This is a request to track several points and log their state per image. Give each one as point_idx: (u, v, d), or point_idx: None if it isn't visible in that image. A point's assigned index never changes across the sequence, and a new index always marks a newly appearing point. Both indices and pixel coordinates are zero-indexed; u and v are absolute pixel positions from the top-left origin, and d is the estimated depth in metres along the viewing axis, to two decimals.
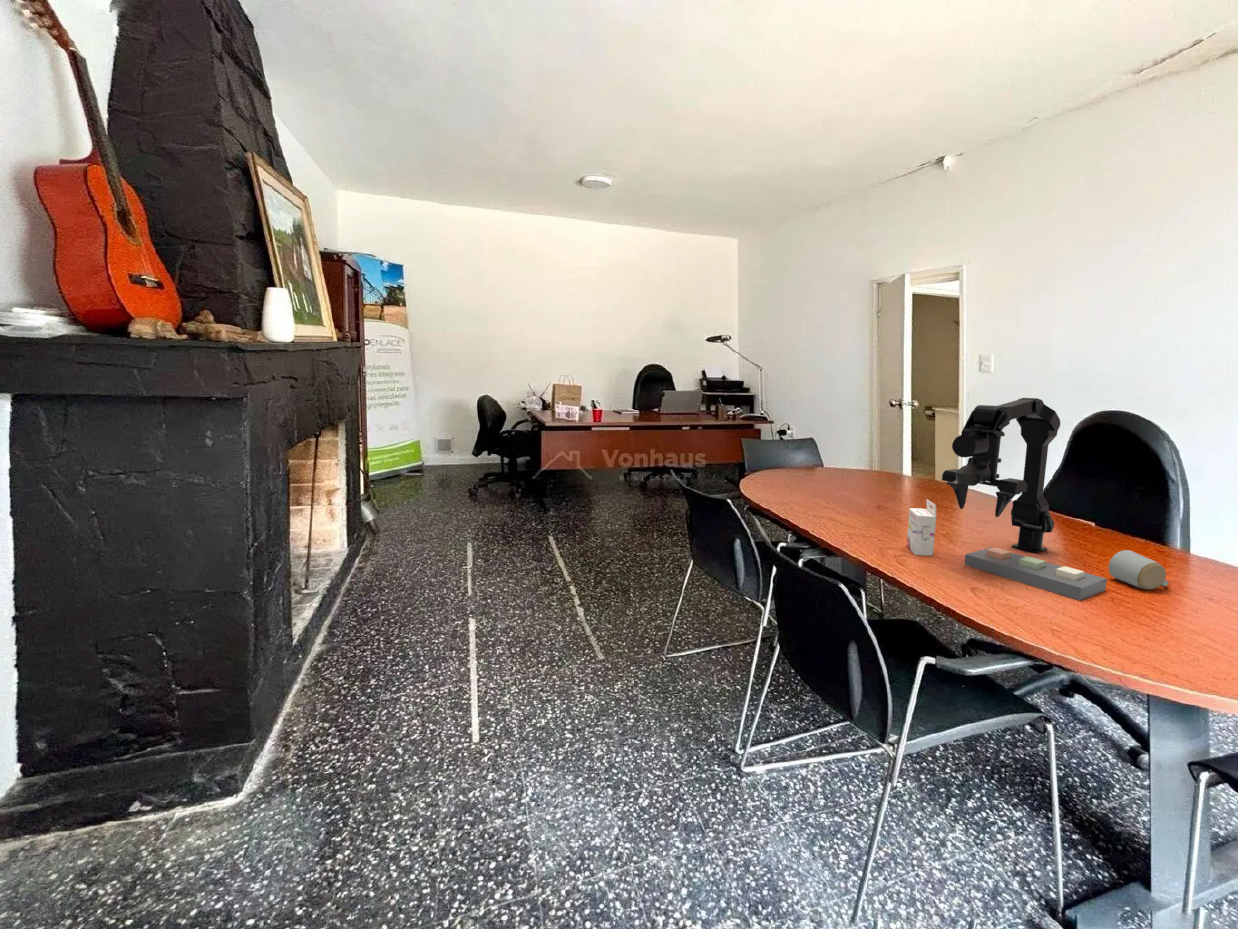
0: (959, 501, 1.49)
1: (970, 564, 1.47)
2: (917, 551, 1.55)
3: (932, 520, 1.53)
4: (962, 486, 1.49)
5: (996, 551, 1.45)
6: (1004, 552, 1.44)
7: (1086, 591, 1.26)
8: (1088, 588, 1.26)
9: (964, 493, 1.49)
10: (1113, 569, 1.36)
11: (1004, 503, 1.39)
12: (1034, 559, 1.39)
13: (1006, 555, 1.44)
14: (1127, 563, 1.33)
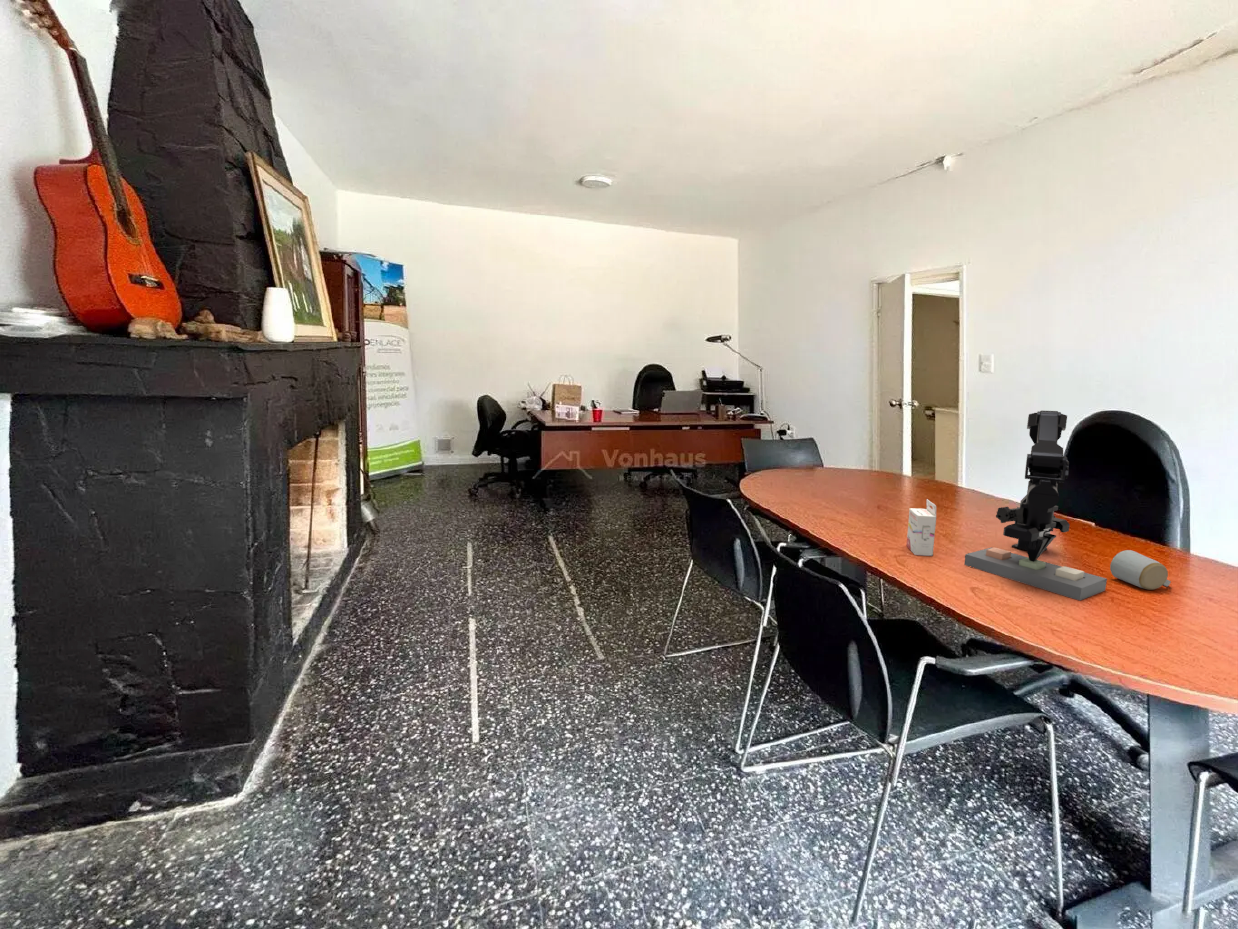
0: None
1: (970, 564, 1.47)
2: (917, 551, 1.55)
3: (932, 520, 1.53)
4: None
5: (996, 551, 1.45)
6: (1004, 552, 1.44)
7: (1086, 591, 1.26)
8: (1088, 588, 1.26)
9: None
10: (1115, 569, 1.36)
11: (1032, 547, 1.37)
12: None
13: (1006, 555, 1.44)
14: (1128, 563, 1.33)
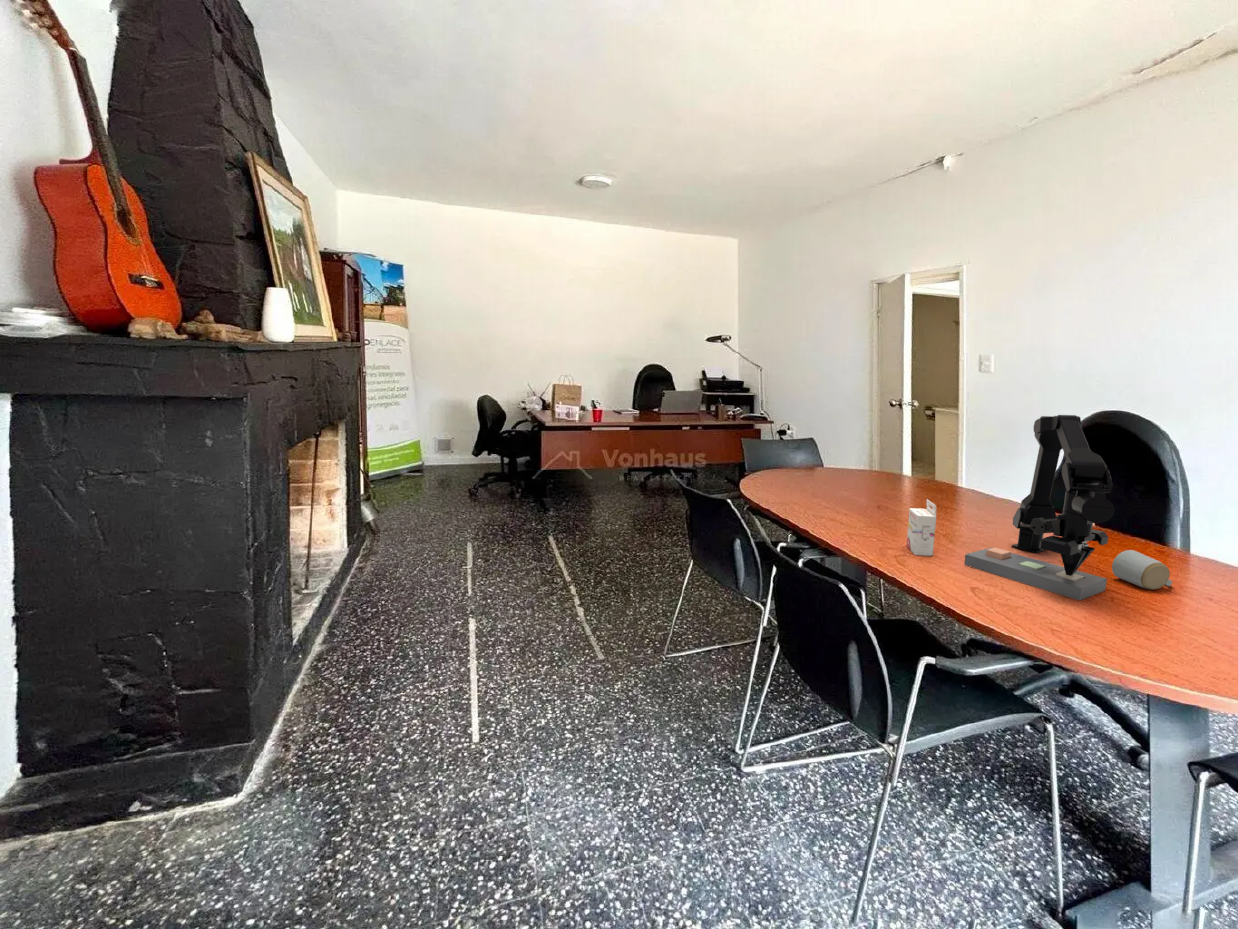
0: None
1: (970, 564, 1.47)
2: (917, 551, 1.55)
3: (932, 520, 1.53)
4: None
5: (996, 551, 1.45)
6: (1004, 552, 1.44)
7: (1086, 591, 1.26)
8: (1088, 588, 1.26)
9: None
10: (1117, 569, 1.36)
11: (1070, 561, 1.30)
12: (1033, 564, 1.39)
13: (1006, 555, 1.44)
14: (1130, 562, 1.33)
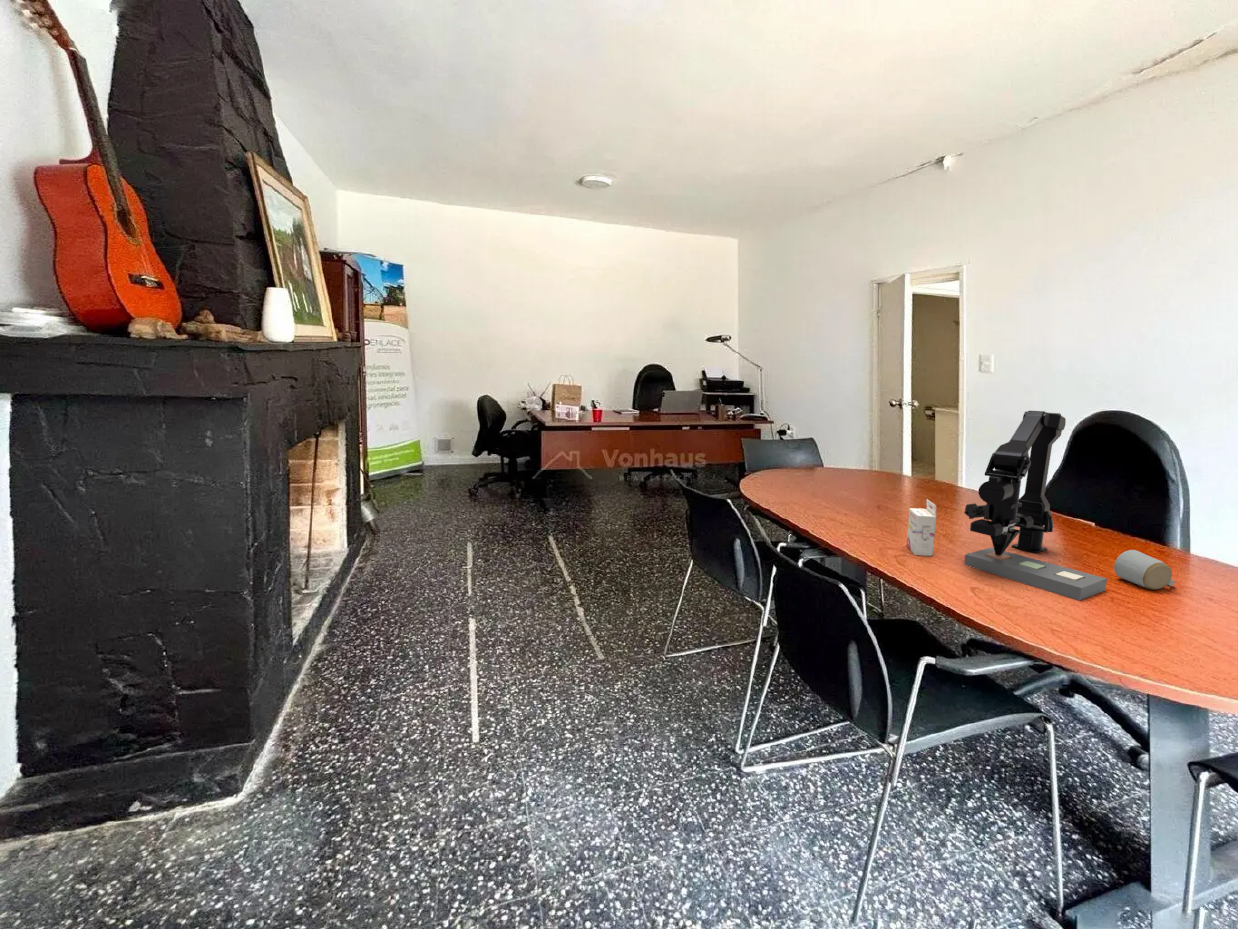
0: None
1: (970, 564, 1.47)
2: (917, 551, 1.55)
3: (932, 520, 1.53)
4: None
5: (996, 556, 1.45)
6: (1003, 556, 1.44)
7: (1086, 591, 1.26)
8: (1088, 588, 1.26)
9: None
10: (1119, 569, 1.36)
11: (998, 542, 1.44)
12: (1033, 564, 1.39)
13: None
14: (1132, 562, 1.33)
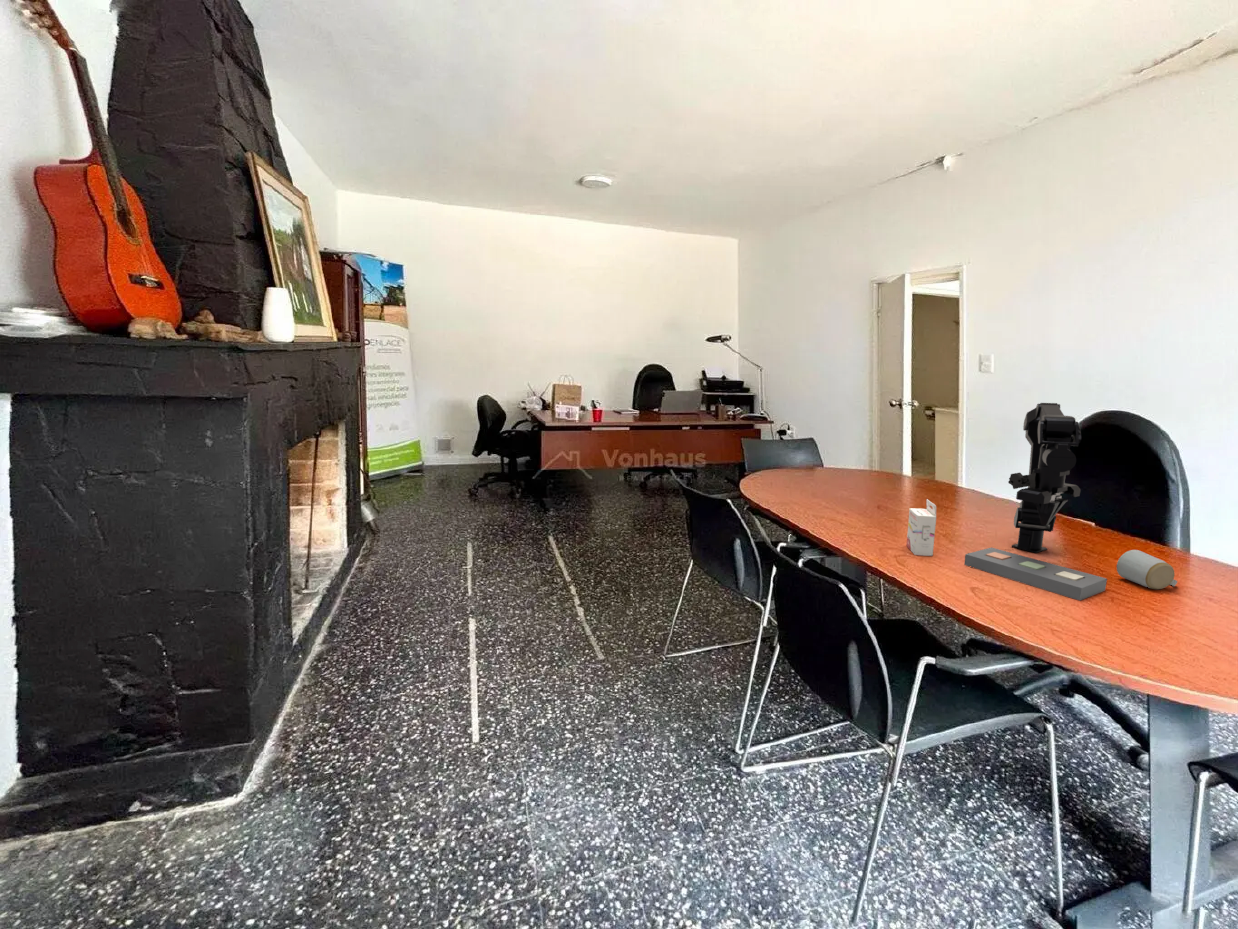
0: None
1: (970, 564, 1.47)
2: (917, 551, 1.55)
3: (932, 520, 1.53)
4: None
5: (996, 556, 1.45)
6: (1003, 557, 1.44)
7: (1086, 591, 1.26)
8: (1088, 588, 1.26)
9: None
10: (1122, 569, 1.36)
11: (1044, 511, 1.41)
12: (1033, 564, 1.39)
13: None
14: (1135, 562, 1.33)
